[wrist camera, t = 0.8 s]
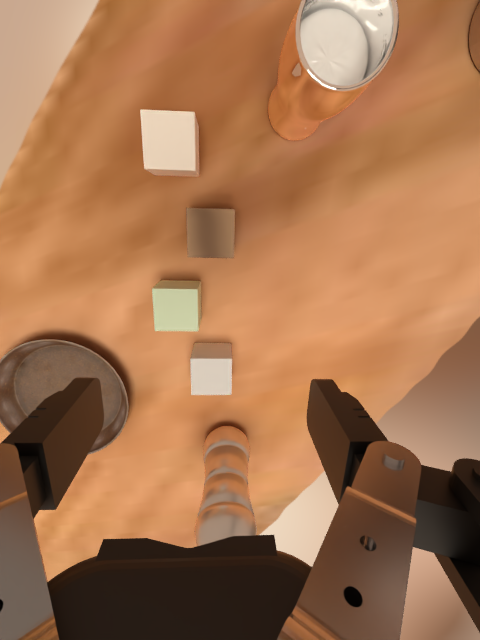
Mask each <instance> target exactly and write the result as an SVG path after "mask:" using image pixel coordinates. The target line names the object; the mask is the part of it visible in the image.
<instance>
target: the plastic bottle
mask: <svg viewBox="0 0 480 640" xmlns="http://www.w3.org/2000/svg"><path fill="white" fill-rule="evenodd" d="M249 454H250V446H249V443H248V440H247V437H246V435H245V434H244V433H243V432H242V431H241V430H239V429H238V428H235V427H233V426H221V427H218V428H216V429H215V430H213V431H212V432H211V433H209V435H208V436H207V438H206V441H205V443H204V447H203V456H204V463H205V484H204V490H203V497H202V501H201V505H200V509H199V513H198V517H197V520H196V526H195V538H196V543H197V546H201V545H204V544H207V543H211V542H214V541H218V540H221V539H225V538H228V537H232V536H253V535H256V532H257V531H256V522H255V518H254V513H253V509H252V505H251V501H250V496H249V488H248V480H247V476H248V461H249Z"/></svg>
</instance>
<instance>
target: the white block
mask: <svg viewBox="0 0 480 640" xmlns="http://www.w3.org/2000/svg"><path fill="white" fill-rule="evenodd" d="M140 112H141V127H142V143H143V158H144V169H145V170H147V171H149V172H150V173H152V174H154V175H160V176H190V177H199V126H198V122H197V119H196V116H195V112H185V111H162V110H140Z"/></svg>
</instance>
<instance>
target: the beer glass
mask: <svg viewBox="0 0 480 640" xmlns="http://www.w3.org/2000/svg"><path fill="white" fill-rule="evenodd" d="M398 28H399V12H398V5H397V1H396V0H301V3H300V6H299V8H298V10H297V12H296V14H295V16H294V18H293V20H292V22H291V24H290V27H289V29H288V32H287V34H286V37H285V40H284V43H283V47H282V50H281V54H280V59H279V66H278V84H277V85H276V86H275V88H274V89H273V91H272V93H271V96H270V99H269V103H268V116H269V120H270V123H271V125H272V127H273V129H274V130H275V131H276V133H277V134H279V135H280V136H281V137H283V138H285V139H287V140H292V141H298V140H302V139H305V138H307V137H308V136H310V135H311V134H312V133H313V132H314V131H315V130H316V129H317V128H318V126H319V124H320V122H321V121H324V120H327V119H329V118H331V117H333V116H335V115H337V114H339V113H340V112H342V111H343V110H344V109H345V108H347V107H348V106H349V105H350V104H352V103H353V102H354V101H355V100H356V99H357V98H358V97H359V96H360V95H361V94H362V93H363V91H364V90H365V89H366V88H367V87H368V86H369V84H370V83H371V82H372V81H373V79H374V78H375V77H376V76H377V75H378V74H379V73H380V72H381V71H382V70H383V68H384V67H385V65H386V64H387V62H388V60H389V59H390V56H391V54H392V52H393V50H394V47H395V44H396V40H397V35H398Z"/></svg>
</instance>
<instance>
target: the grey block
mask: <svg viewBox="0 0 480 640" xmlns="http://www.w3.org/2000/svg"><path fill="white" fill-rule="evenodd" d="M190 362H191V395H231V389H232V345H231V343H194V346H193V350H192V354H191V358H190Z"/></svg>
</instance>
